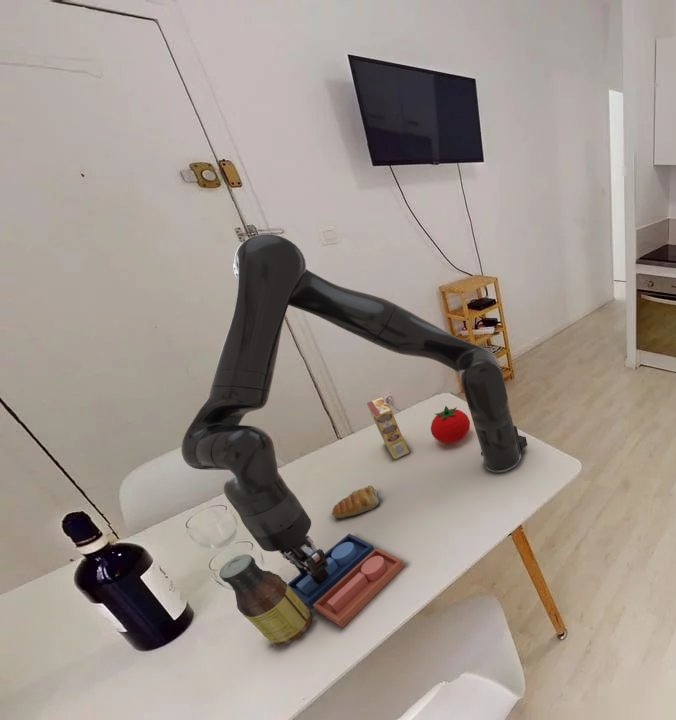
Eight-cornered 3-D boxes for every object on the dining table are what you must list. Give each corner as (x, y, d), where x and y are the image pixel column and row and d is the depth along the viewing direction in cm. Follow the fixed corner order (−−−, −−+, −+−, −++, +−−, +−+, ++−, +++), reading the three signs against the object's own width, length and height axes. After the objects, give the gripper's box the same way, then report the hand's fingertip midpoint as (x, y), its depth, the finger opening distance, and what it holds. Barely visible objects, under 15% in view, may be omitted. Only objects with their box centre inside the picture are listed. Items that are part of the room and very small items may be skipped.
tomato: (436, 454, 115) (426, 426, 110) (435, 433, 123) (425, 406, 118) (475, 443, 118) (466, 415, 113) (471, 423, 127) (463, 397, 122)
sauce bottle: (286, 613, 77) (232, 545, 67) (321, 609, 78) (272, 542, 68) (261, 651, 72) (198, 584, 62) (299, 647, 72) (241, 580, 62)
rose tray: (379, 553, 88) (376, 547, 87) (404, 566, 85) (401, 560, 84) (316, 611, 77) (312, 605, 76) (342, 628, 75) (338, 622, 74)
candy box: (410, 453, 116) (392, 409, 108) (394, 460, 113) (374, 416, 106) (400, 438, 121) (382, 396, 114) (384, 445, 119) (365, 402, 111)
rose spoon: (341, 615, 76) (336, 608, 75) (328, 607, 77) (322, 599, 76) (391, 567, 84) (387, 559, 83) (378, 560, 86) (374, 552, 85)
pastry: (336, 526, 94) (329, 515, 92) (333, 508, 99) (326, 497, 97) (381, 505, 99) (376, 494, 97) (376, 489, 104) (371, 478, 102)
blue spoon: (310, 598, 79) (304, 590, 78) (298, 590, 81) (292, 582, 79) (362, 552, 88) (357, 545, 86) (349, 546, 89) (345, 538, 88)
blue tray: (352, 539, 91) (349, 533, 90) (375, 551, 88) (372, 545, 87) (288, 592, 81) (283, 586, 80) (312, 608, 78) (307, 602, 77)
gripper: (229, 520, 73) (274, 579, 81) (275, 548, 67) (318, 607, 76) (276, 490, 78) (313, 548, 87) (322, 514, 73) (357, 572, 82)
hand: (315, 575), depth 81 cm, fingers open, 4 cm apart
